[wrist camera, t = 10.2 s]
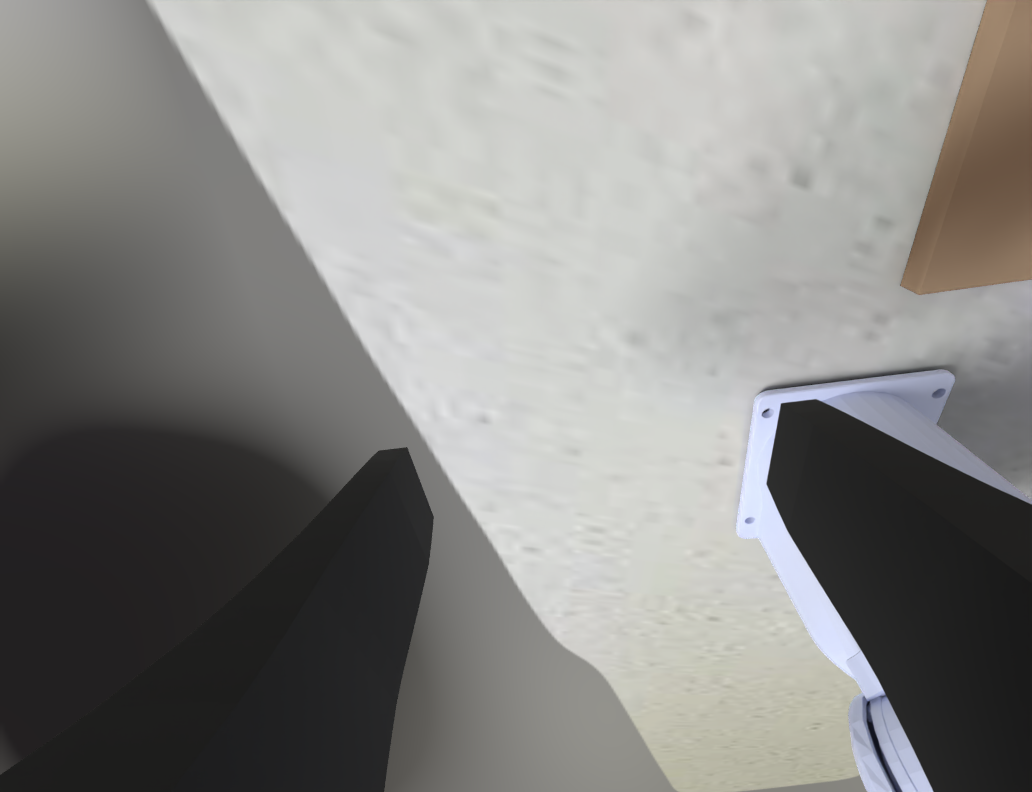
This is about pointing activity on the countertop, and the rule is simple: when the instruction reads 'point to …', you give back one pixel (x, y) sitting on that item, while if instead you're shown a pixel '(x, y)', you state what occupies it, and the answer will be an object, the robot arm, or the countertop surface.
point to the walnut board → (983, 167)
